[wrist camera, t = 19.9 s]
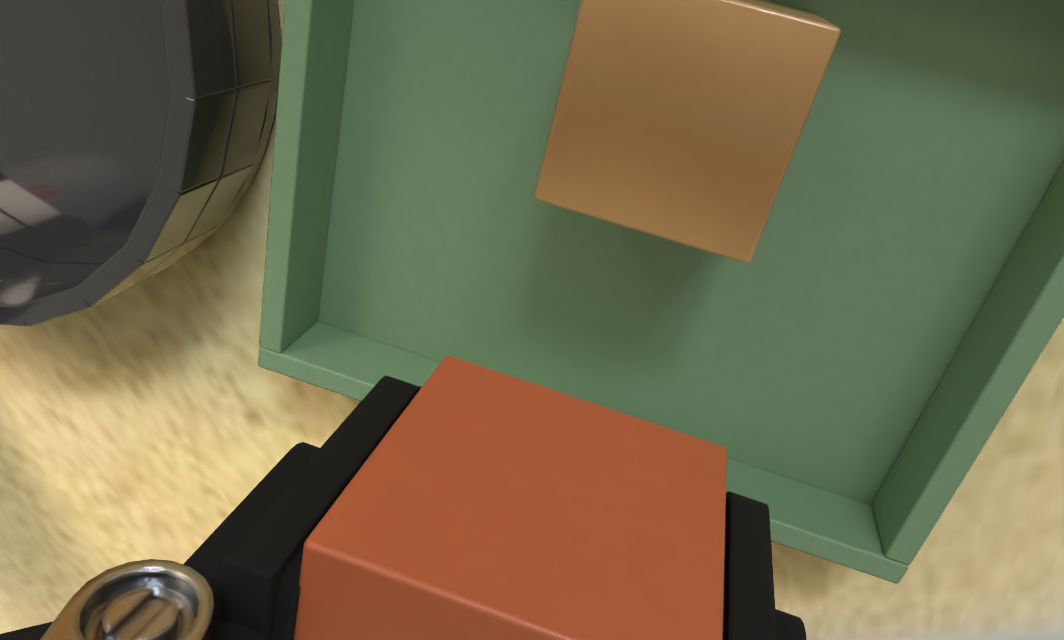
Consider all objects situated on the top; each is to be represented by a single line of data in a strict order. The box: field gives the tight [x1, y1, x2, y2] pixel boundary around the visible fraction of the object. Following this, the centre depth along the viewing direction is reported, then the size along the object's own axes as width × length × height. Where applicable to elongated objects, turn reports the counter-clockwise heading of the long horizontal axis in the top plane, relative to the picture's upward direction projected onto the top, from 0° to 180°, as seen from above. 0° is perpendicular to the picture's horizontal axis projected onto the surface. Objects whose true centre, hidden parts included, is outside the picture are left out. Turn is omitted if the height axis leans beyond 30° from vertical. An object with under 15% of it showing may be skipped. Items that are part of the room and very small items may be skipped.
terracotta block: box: [294, 356, 727, 640], centre depth 10 cm, size 4×4×4 cm
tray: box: [258, 0, 1064, 583], centre depth 17 cm, size 13×16×2 cm
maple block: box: [534, 0, 841, 263], centre depth 15 cm, size 4×4×4 cm
